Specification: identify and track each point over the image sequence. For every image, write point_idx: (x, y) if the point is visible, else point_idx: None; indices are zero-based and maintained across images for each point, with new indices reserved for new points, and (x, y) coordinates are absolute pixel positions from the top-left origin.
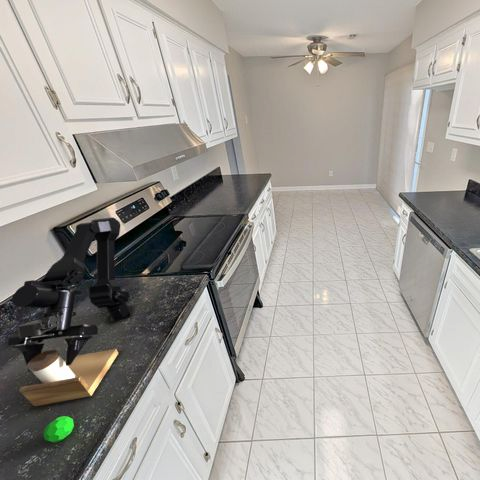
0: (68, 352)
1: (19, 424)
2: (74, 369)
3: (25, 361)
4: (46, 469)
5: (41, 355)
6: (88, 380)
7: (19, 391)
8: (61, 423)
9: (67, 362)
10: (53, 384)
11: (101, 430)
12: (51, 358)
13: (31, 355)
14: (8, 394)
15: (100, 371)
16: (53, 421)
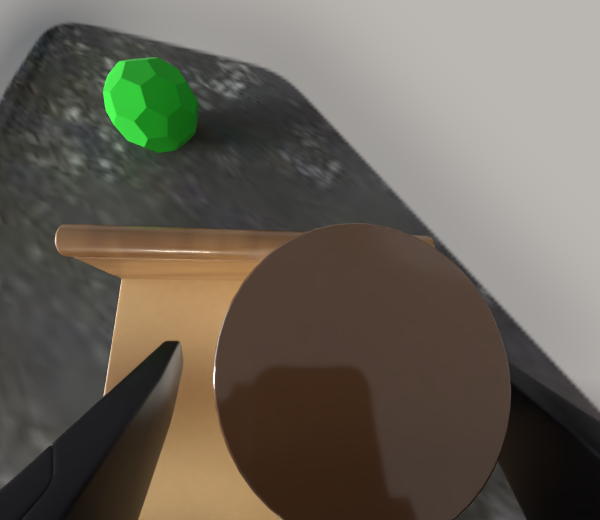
0: (89, 447)
1: (369, 210)
2: None
3: (580, 409)
4: (163, 51)
5: (429, 432)
6: (156, 332)
7: (424, 236)
8: (114, 78)
9: (155, 355)
10: (232, 230)
11: (28, 114)
12: (232, 336)
13: (592, 486)
14: (542, 361)
15: (108, 385)
16: (145, 80)
